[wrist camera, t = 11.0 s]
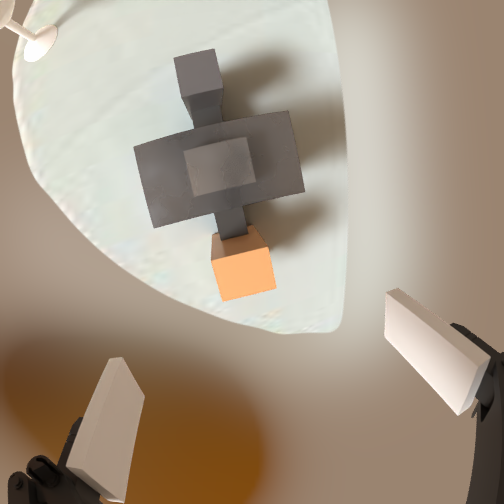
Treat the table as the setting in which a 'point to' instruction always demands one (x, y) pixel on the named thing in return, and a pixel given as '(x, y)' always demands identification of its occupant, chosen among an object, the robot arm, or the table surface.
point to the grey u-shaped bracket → (219, 167)
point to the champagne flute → (28, 33)
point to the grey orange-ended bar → (231, 220)
